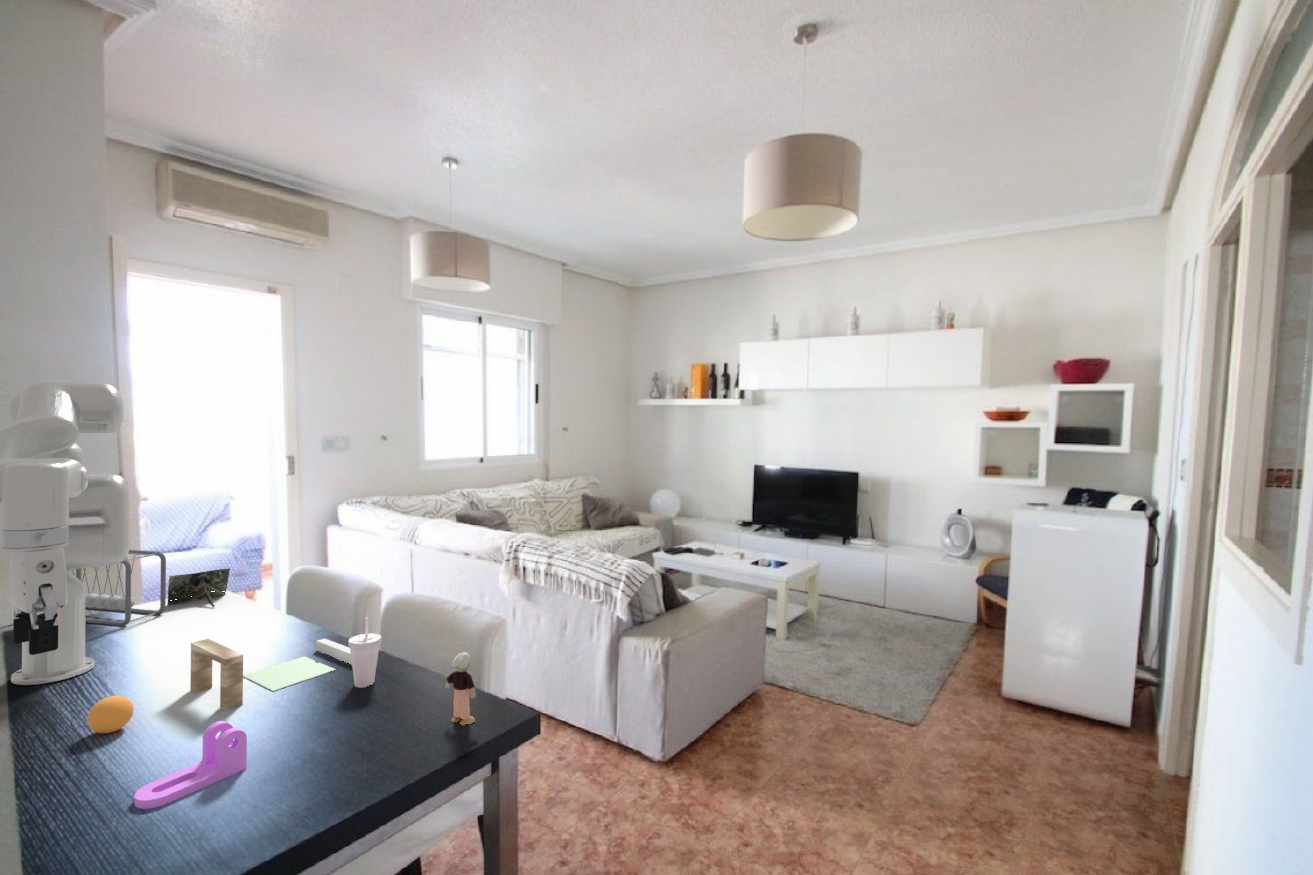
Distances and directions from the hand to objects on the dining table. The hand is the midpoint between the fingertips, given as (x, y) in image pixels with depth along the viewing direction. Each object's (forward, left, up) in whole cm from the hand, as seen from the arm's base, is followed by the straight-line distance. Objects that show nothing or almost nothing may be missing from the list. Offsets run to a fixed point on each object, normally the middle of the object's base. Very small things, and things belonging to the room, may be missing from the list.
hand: (35, 645), depth 96 cm
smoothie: (+18, +45, -18) cm, 52 cm away
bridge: (0, +25, -18) cm, 31 cm away
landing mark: (0, +39, -18) cm, 43 cm away
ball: (0, +9, -15) cm, 18 cm away
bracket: (+29, +11, -18) cm, 36 cm away
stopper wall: (0, +50, -18) cm, 54 cm away
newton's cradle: (-80, +30, -18) cm, 87 cm away
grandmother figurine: (+47, +46, -18) cm, 69 cm away
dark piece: (-76, +51, -13) cm, 93 cm away
